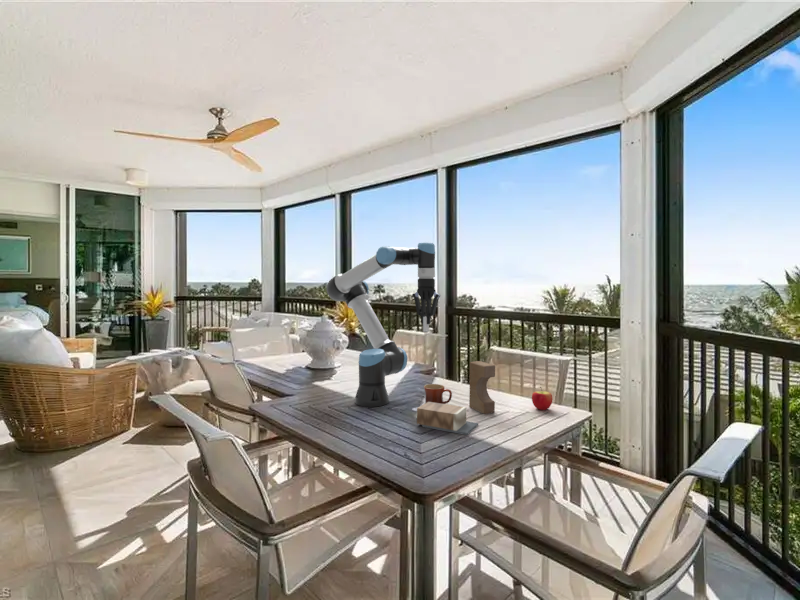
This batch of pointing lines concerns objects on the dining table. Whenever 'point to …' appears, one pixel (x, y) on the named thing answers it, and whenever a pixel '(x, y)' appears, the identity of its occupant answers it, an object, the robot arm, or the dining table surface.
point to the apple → (542, 399)
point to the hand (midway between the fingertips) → (426, 331)
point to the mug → (436, 393)
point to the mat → (463, 430)
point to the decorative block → (481, 387)
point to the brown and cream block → (441, 415)
